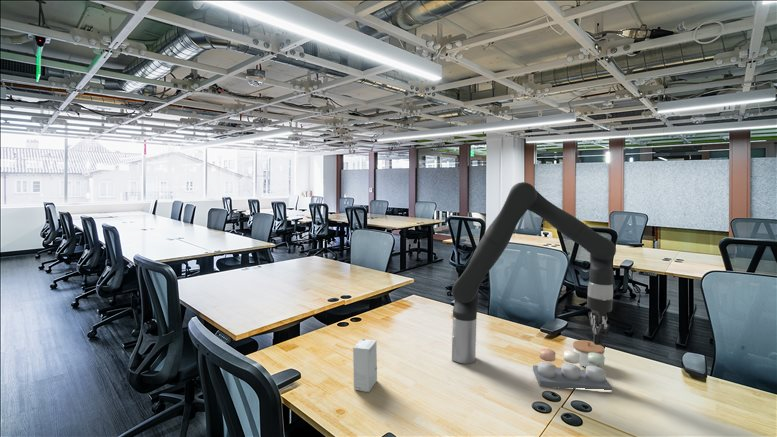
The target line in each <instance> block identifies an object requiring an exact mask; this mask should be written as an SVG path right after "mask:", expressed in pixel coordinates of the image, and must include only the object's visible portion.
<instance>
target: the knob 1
mask: <svg viewBox="0 0 777 437" xmlns="http://www.w3.org/2000/svg"><path fill="white" fill-rule="evenodd" d="M539 358H540V359H541V360H542V361H544V362H549V363H552V362H554V361H556V352H555V351H554V350H553V349H551V348H541V349H539Z"/></svg>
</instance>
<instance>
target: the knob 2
mask: <svg viewBox="0 0 777 437" xmlns="http://www.w3.org/2000/svg"><path fill="white" fill-rule="evenodd" d="M605 358H606V357H605V355H604V356H603V355H601V354H599V353H594V352H591V353H588V362H589V363H591V364H593V365H597V366H598V367H602V366H604V365H605Z"/></svg>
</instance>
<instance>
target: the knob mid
mask: <svg viewBox="0 0 777 437" xmlns="http://www.w3.org/2000/svg"><path fill="white" fill-rule="evenodd" d="M563 360H564V361H565V362H566V363H568V364H573V365H577V364H579V360H580V354H579V353H577V352H574V351H573V350H569V349H568V350H564V351H563Z"/></svg>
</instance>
